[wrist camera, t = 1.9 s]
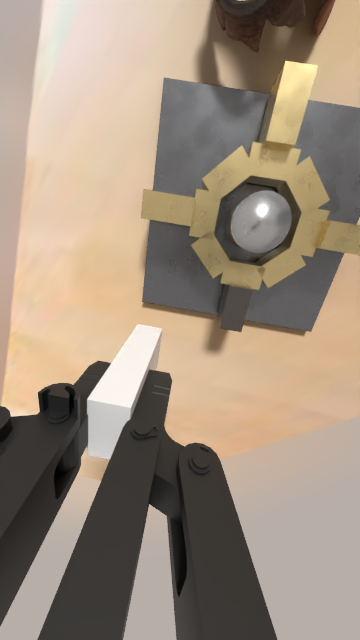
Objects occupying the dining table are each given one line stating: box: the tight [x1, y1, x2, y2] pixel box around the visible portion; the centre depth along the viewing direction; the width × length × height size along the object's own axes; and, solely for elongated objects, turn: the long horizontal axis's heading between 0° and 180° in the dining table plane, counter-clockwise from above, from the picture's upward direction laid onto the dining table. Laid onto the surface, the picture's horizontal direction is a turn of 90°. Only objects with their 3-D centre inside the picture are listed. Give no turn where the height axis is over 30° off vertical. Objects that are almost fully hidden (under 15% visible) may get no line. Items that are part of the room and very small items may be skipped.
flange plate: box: [142, 78, 360, 332], centre depth 23 cm, size 22×22×6 cm
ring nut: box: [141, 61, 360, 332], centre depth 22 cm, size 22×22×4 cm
